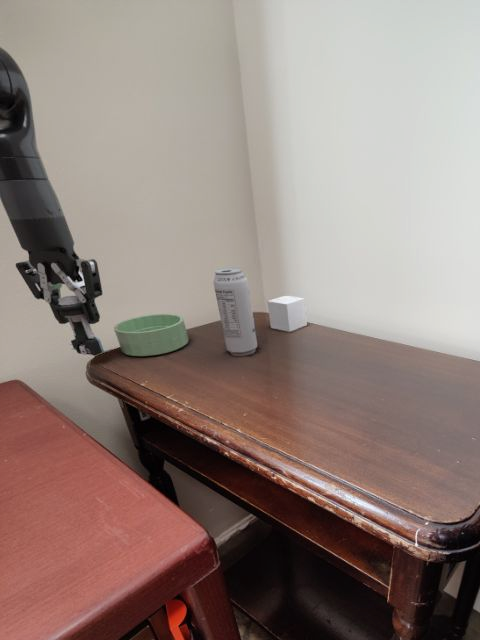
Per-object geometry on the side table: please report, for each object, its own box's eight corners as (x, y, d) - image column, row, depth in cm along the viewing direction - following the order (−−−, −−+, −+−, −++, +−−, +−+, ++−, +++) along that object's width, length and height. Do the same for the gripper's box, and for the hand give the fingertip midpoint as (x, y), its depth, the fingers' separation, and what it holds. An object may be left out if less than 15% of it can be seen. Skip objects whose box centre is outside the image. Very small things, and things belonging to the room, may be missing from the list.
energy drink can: (264, 351, 78) (252, 269, 70) (237, 359, 75) (221, 275, 66) (248, 344, 82) (234, 266, 74) (222, 352, 79) (205, 271, 70)
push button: (62, 356, 74) (38, 300, 68) (84, 346, 78) (63, 293, 72) (91, 358, 72) (69, 302, 66) (112, 348, 76) (93, 294, 71)
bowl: (108, 357, 79) (99, 332, 76) (145, 336, 89) (138, 313, 87) (169, 358, 77) (162, 333, 74) (199, 336, 87) (194, 314, 85)
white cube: (289, 332, 88) (286, 304, 85) (270, 327, 91) (267, 301, 88) (307, 324, 92) (305, 298, 89) (288, 321, 95) (285, 295, 92)
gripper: (92, 212, 64) (127, 317, 74) (16, 215, 66) (60, 316, 76) (59, 215, 58) (101, 329, 68) (-24, 218, 60) (29, 328, 70)
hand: (79, 322), depth 72 cm, fingers closed on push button, 5 cm apart
